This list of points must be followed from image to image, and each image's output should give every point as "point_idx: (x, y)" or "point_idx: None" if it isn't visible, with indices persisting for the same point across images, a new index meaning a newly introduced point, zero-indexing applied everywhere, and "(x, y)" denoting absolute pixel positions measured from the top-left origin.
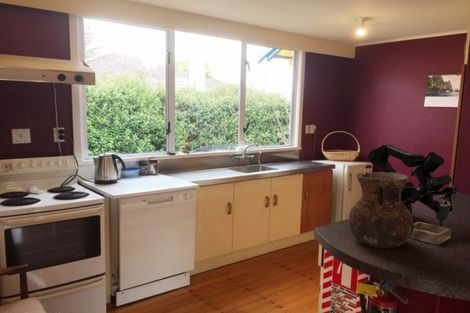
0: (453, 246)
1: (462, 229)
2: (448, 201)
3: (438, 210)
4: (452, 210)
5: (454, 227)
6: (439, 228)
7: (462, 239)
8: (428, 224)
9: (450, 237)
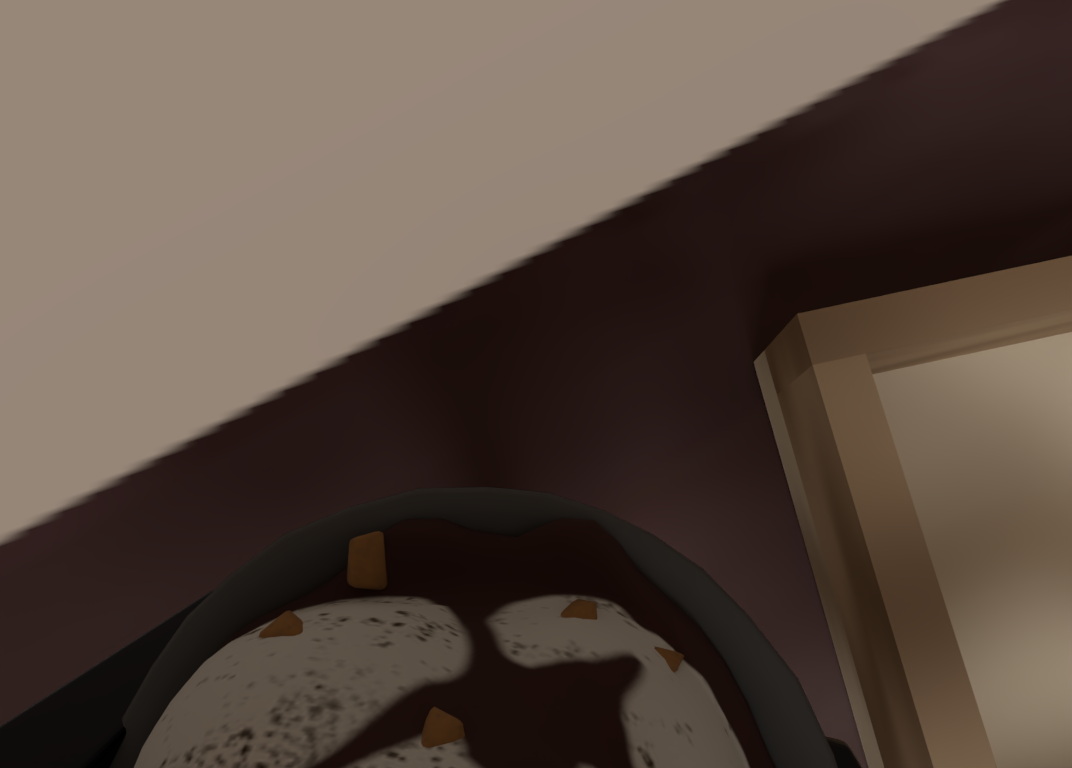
0: (1064, 127)
1: (66, 556)
2: (269, 724)
3: None
4: None
5: None
6: (900, 504)
7: (628, 245)
8: (984, 750)
9: (758, 359)
